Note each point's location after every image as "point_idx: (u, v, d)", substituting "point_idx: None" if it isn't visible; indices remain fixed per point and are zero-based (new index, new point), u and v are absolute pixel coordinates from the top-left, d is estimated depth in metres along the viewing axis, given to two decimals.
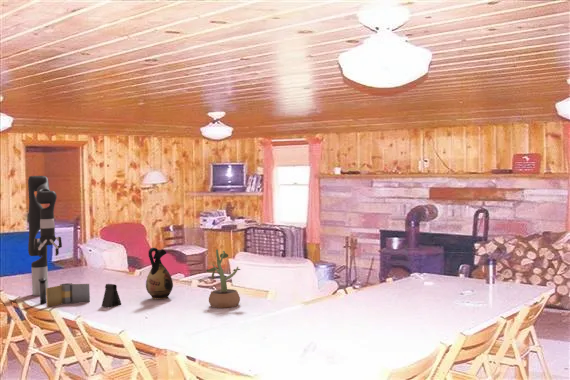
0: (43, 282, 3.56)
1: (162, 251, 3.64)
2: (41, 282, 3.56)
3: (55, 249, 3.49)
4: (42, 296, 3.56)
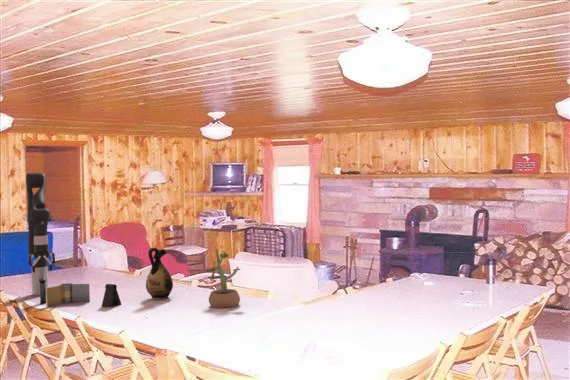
0: (43, 282, 3.56)
1: (162, 251, 3.64)
2: (41, 282, 3.56)
3: (49, 265, 3.60)
4: (42, 296, 3.56)
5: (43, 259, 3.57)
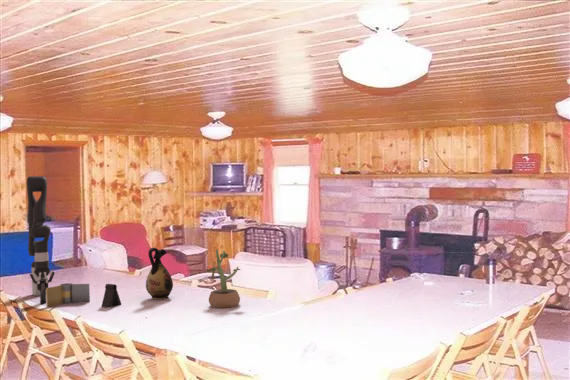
0: (43, 282, 3.56)
1: (162, 251, 3.64)
2: (41, 282, 3.56)
3: None
4: (42, 296, 3.56)
5: (42, 275, 3.56)
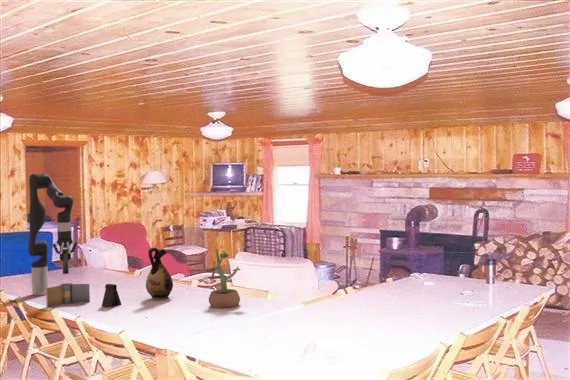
0: (66, 252, 3.56)
1: (162, 251, 3.64)
2: (64, 252, 3.56)
3: None
4: (64, 266, 3.56)
5: (65, 245, 3.56)
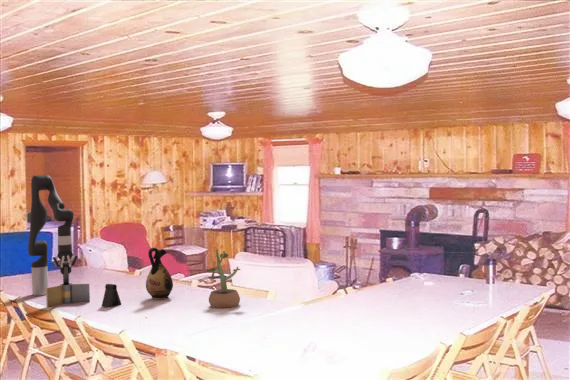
0: (66, 266, 3.56)
1: (162, 251, 3.64)
2: (64, 265, 3.56)
3: None
4: (65, 280, 3.56)
5: (65, 259, 3.57)
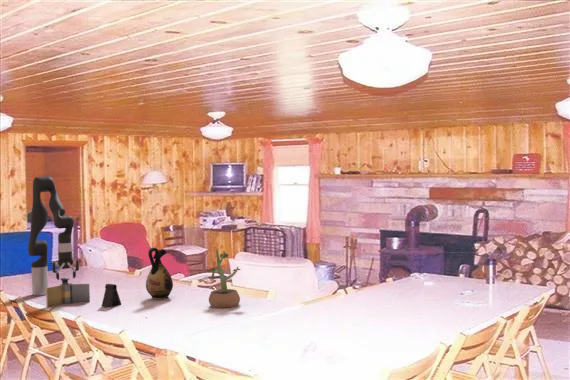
0: (66, 281, 3.56)
1: (162, 251, 3.64)
2: (64, 281, 3.56)
3: None
4: None
5: (67, 266, 3.57)
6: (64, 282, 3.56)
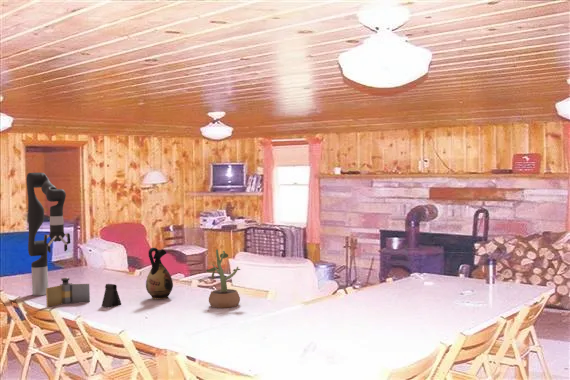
0: (66, 281, 3.56)
1: (162, 251, 3.64)
2: (64, 281, 3.56)
3: (64, 245, 3.62)
4: None
5: (58, 239, 3.59)
6: (64, 282, 3.56)
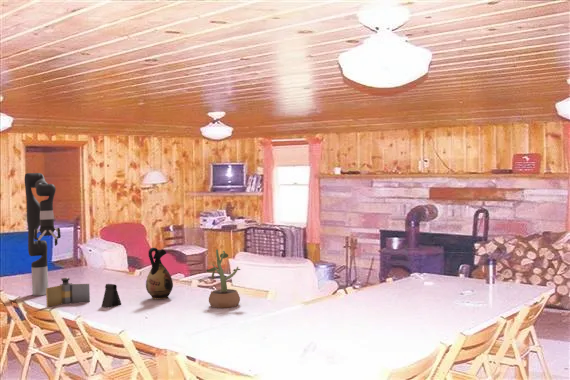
0: (66, 281, 3.56)
1: (162, 251, 3.64)
2: (64, 281, 3.56)
3: (54, 239, 3.65)
4: None
5: (49, 234, 3.62)
6: (65, 282, 3.56)
